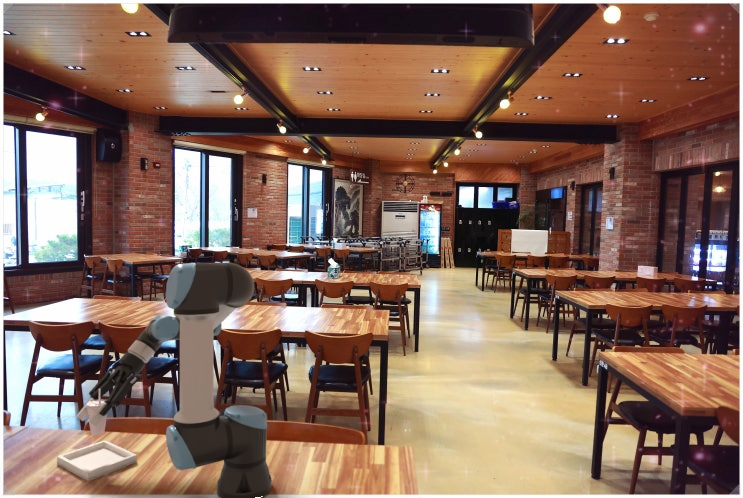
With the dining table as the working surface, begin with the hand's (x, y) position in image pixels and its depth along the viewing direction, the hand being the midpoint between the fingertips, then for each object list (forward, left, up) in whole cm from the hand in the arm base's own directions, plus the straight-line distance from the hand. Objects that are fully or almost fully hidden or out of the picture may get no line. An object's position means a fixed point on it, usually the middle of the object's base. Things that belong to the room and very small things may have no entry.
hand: (85, 421), depth 156 cm
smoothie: (0, -4, -5) cm, 6 cm away
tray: (0, -3, -14) cm, 14 cm away
